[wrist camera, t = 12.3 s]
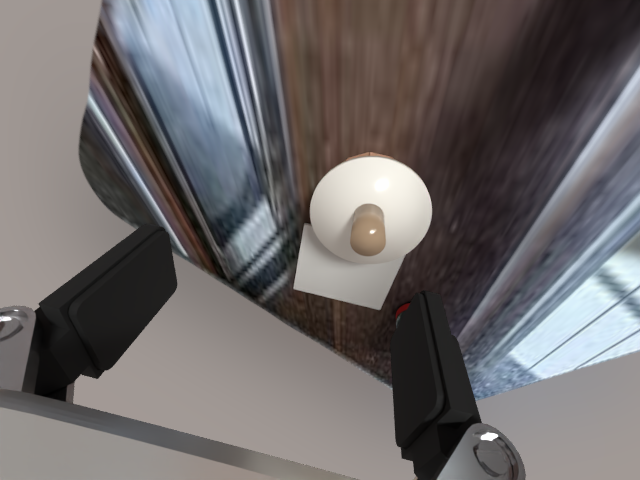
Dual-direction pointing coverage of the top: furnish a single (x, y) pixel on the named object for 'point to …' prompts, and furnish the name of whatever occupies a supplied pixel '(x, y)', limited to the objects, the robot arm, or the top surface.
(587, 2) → the top surface
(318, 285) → the mat
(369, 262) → the lid
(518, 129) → the top surface
